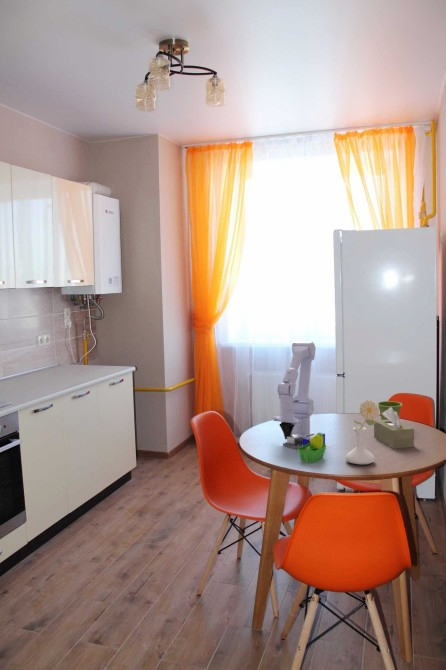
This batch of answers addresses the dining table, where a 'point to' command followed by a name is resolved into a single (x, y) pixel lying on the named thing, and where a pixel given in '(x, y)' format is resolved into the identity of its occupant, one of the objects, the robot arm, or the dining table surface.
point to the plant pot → (387, 404)
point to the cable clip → (307, 441)
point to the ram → (295, 439)
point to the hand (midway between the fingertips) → (287, 438)
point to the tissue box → (393, 431)
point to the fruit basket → (313, 449)
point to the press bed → (295, 446)
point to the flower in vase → (359, 452)
